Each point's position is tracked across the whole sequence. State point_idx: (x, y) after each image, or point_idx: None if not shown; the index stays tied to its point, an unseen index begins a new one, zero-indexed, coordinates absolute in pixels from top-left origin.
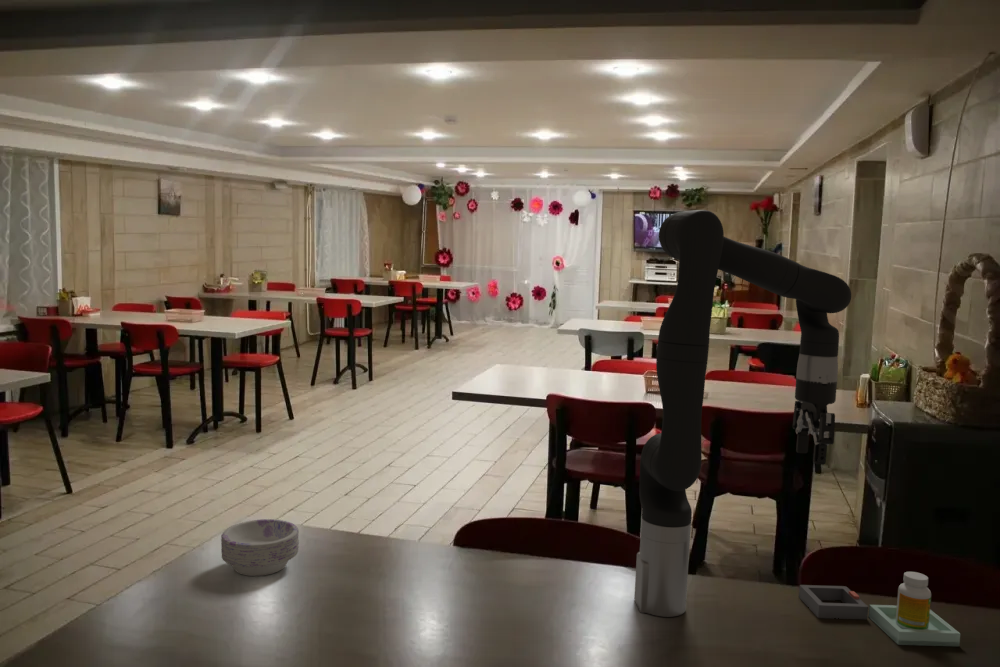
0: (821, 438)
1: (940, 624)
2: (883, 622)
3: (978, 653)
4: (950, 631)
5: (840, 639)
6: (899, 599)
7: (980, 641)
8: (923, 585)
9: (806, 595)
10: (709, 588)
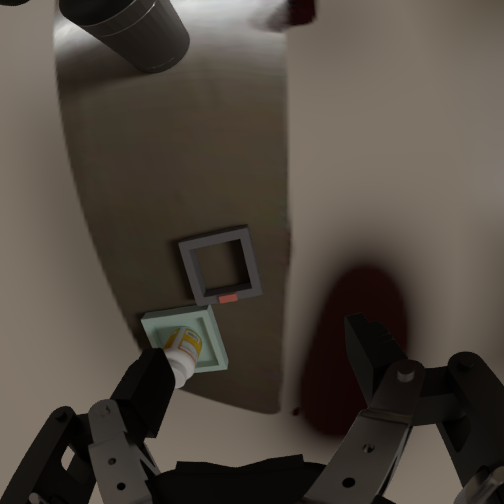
0: (45, 424)
1: None
2: (172, 312)
3: None
4: None
5: (133, 254)
6: (172, 343)
7: (190, 387)
8: None
9: (220, 232)
10: (241, 97)
